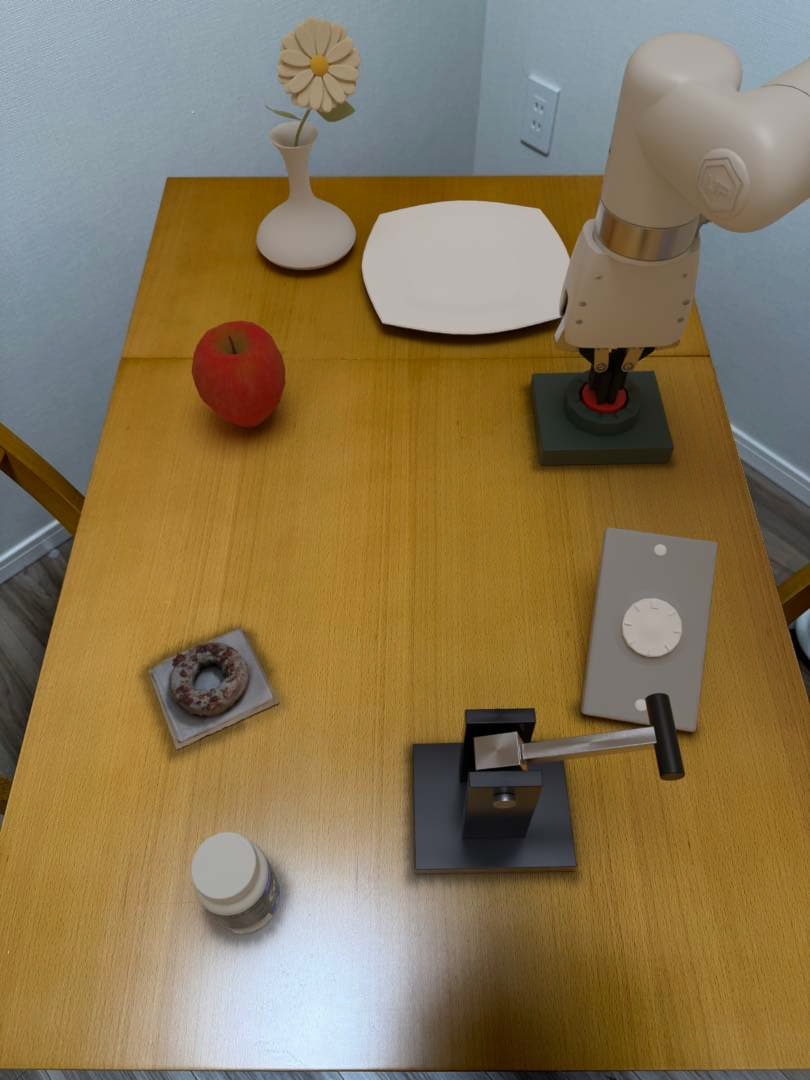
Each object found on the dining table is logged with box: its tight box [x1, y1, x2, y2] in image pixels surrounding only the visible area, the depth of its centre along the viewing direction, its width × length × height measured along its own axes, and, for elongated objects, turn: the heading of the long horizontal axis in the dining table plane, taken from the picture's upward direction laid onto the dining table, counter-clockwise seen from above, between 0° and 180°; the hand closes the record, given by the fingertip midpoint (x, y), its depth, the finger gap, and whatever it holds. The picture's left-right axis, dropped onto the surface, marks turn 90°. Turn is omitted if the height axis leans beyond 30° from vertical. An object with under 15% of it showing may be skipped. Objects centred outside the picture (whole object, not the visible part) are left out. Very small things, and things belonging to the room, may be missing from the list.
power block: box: [529, 369, 675, 466], centre depth 81 cm, size 12×10×4 cm
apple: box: [190, 320, 286, 429], centre depth 80 cm, size 9×8×11 cm
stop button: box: [581, 384, 626, 414], centre depth 80 cm, size 4×4×2 cm
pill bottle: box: [190, 831, 281, 935], centre depth 55 cm, size 5×5×8 cm
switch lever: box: [474, 693, 686, 782], centre depth 52 cm, size 12×5×2 cm, turn 91°
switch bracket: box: [412, 707, 578, 875], centre depth 57 cm, size 11×9×12 cm
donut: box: [147, 627, 280, 750], centre depth 67 cm, size 8×8×2 cm
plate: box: [361, 200, 571, 336], centre depth 95 cm, size 23×23×2 cm
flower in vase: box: [255, 16, 361, 271], centre depth 89 cm, size 13×11×25 cm
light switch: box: [580, 526, 719, 733], centre depth 67 cm, size 8×6×14 cm
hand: (603, 392), depth 79 cm, fingers closed
